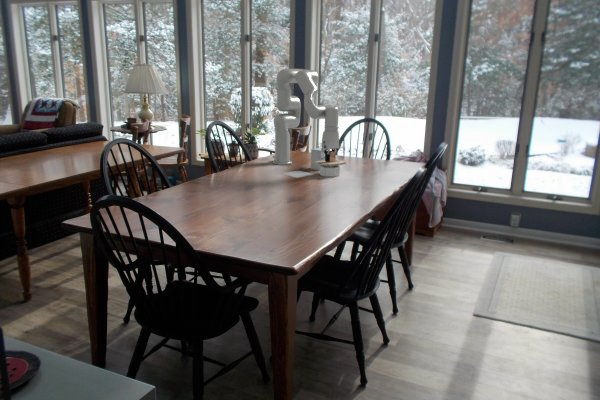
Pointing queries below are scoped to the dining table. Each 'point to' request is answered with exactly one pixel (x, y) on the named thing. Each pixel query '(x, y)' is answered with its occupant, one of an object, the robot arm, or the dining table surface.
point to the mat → (298, 174)
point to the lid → (330, 160)
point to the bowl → (329, 170)
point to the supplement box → (316, 158)
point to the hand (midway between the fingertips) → (330, 160)
